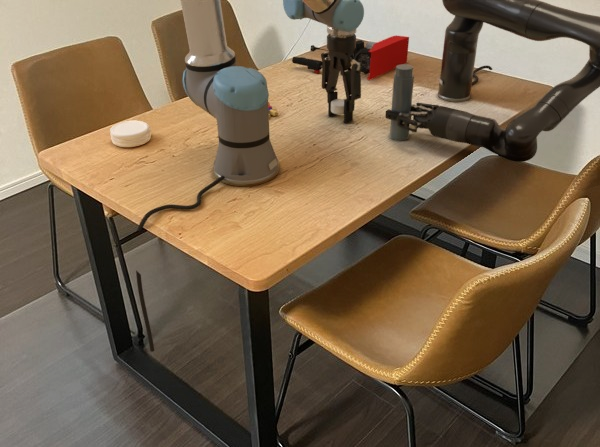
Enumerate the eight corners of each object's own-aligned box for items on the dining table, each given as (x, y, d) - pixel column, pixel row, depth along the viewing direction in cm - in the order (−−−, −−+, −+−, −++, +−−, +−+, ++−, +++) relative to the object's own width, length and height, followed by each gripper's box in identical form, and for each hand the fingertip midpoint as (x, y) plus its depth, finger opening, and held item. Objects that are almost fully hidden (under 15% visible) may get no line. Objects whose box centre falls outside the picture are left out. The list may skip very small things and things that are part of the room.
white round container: (123, 151, 155) (121, 138, 153) (105, 139, 162) (102, 126, 160) (158, 140, 161) (156, 127, 159) (139, 128, 167) (137, 116, 165)
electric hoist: (290, 37, 203) (370, 51, 188) (334, 23, 222) (410, 35, 207) (290, 67, 208) (368, 84, 193) (333, 51, 227) (407, 65, 212)
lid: (335, 105, 173) (335, 97, 172) (354, 108, 171) (354, 100, 170) (327, 112, 169) (327, 104, 168) (346, 115, 167) (346, 107, 166)
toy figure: (281, 107, 173) (253, 94, 180) (262, 114, 169) (235, 100, 176) (281, 115, 175) (253, 102, 182) (262, 122, 171) (235, 108, 178)
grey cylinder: (396, 142, 158) (401, 71, 148) (385, 134, 162) (390, 65, 152) (412, 138, 160) (418, 68, 150) (402, 131, 164) (407, 62, 154)
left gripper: (307, 29, 163) (308, 112, 176) (356, 44, 151) (353, 132, 163) (328, 24, 167) (328, 105, 180) (377, 38, 155) (374, 124, 167)
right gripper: (439, 149, 147) (376, 133, 156) (463, 129, 157) (403, 114, 166) (442, 120, 143) (378, 104, 152) (467, 101, 153) (405, 87, 162)
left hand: (340, 118), depth 171 cm, fingers closed on lid, 6 cm apart
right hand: (391, 110), depth 159 cm, fingers closed on grey cylinder, 5 cm apart
